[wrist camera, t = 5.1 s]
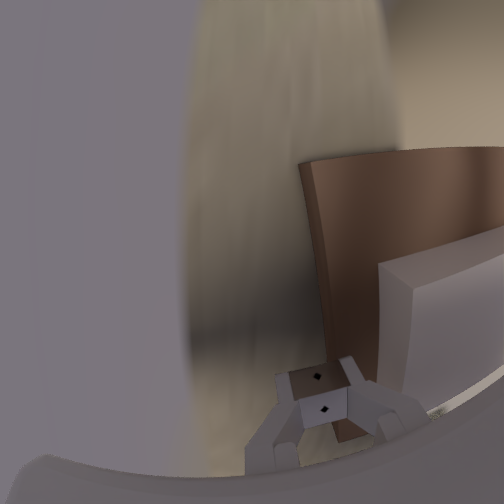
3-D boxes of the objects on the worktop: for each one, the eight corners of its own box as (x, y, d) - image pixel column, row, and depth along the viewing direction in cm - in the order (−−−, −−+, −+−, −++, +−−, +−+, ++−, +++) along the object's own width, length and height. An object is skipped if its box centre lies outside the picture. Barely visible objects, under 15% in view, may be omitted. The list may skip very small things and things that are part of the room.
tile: (517, 220, 9) (549, 230, 7) (502, 328, 11) (524, 346, 9) (378, 263, 9) (413, 289, 7) (375, 392, 11) (393, 426, 9)
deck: (517, 147, 10) (538, 148, 8) (502, 340, 14) (516, 351, 12) (298, 164, 10) (310, 162, 8) (331, 420, 14) (338, 443, 12)
